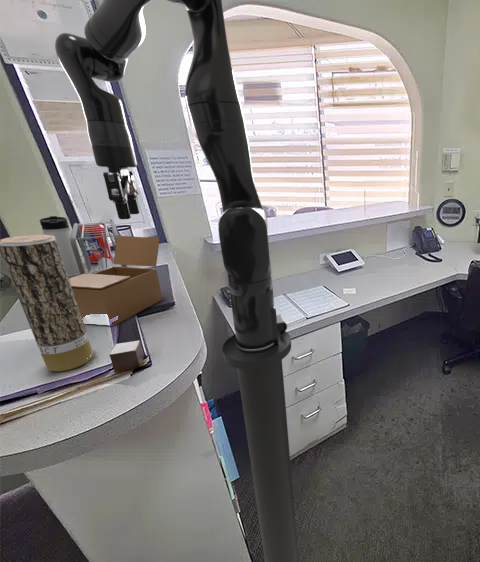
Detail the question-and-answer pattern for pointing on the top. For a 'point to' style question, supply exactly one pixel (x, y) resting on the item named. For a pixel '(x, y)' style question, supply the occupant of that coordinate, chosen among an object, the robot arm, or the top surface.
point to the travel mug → (61, 241)
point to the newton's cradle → (103, 262)
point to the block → (127, 356)
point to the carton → (116, 292)
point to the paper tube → (47, 300)
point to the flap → (136, 251)
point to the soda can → (96, 242)
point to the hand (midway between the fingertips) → (130, 216)
